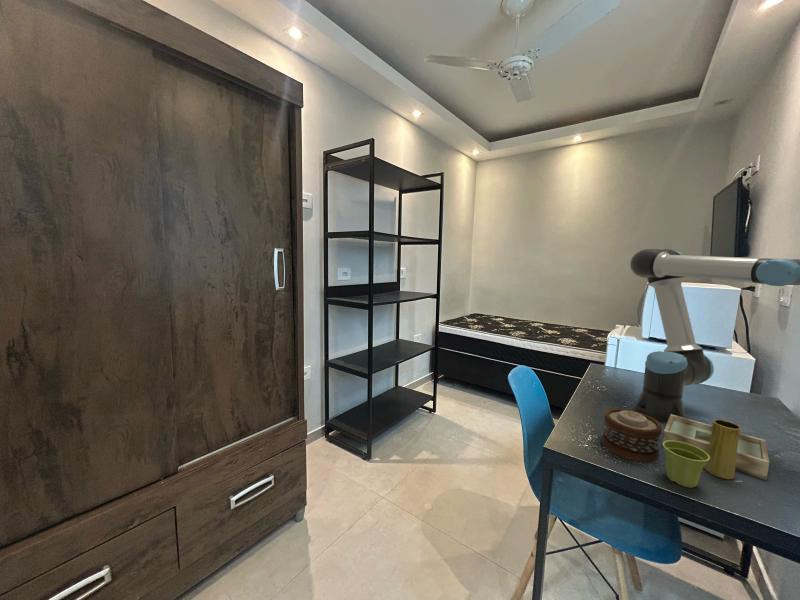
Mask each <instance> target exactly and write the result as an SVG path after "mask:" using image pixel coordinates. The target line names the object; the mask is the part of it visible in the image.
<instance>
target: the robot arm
mask: <svg viewBox="0 0 800 600" xmlns="http://www.w3.org/2000/svg"><path fill="white" fill-rule="evenodd" d="M630 269H631V271H632V272H633V274H635V275H636V276H638V277H640V278H644V279H647V282H648V286H650V287H652V288H654V293H655V297H656V301H657V306H658V310H659V314H660V315H659V316H660V319H661V323H662V327H663V333H664V336H665V340H666V345H667V346H666V348H664V350H663V351H661V350H660V351H652V352H651V353H649V354H647V357H646V360H645V363H644V365H645V367H644V374H643V375H644V376H643V385H642V391H641V392H640V394H639V396H638V397H637V399H636V401H635V405H634V411H636V412H640V413H642V414H645V415H648V416H650V417H652V418H654V419H655V420H657V421H658V422H659V423H665V424H667V422H668V420H669V417H670V415H671V414H672V415H676V416H679V417H683V418H687V414H686V413H687V412H686V409H685V407H684V402H683V393H684V387H686V386H692V385H700V384H702V383H704V382H707V381H708V380H709V379H710V378H712V376H713V374H714V371H715V366H714V364H713V361H712V360H711V358H710V357H708V356H707V355H705V354H704V350H703V349H704V348H703V347H701V346H700V345H698V344H697V342H696V340H695V335H694V332H693V330H694V329H693V326H692V323H691V319H690V315H689V310H688V307H687V302H686V299H685V294H684V291H683V286H682V283H683V281H684V280H685V279H686V278H693V279H704V280H715V281H717V280H718V281H728V282H739V283H749V284H750V283H751V284H759V285H760V284H761V285H767V286H773V287H785V286H800V259H797V258H793V259H791V258H790V259H789V258H760V257H736V256H714V255H713V256H712V255H711V256H710V255H689V254H688V255H687V254H686V255H684V254H683V253H681V252H680V251H678V250H673V249H669V248H663V249H659V248H645V249H642V250H639V251H638V252H636V253H634V255H633V256H632V257H631V260H630Z"/></svg>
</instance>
